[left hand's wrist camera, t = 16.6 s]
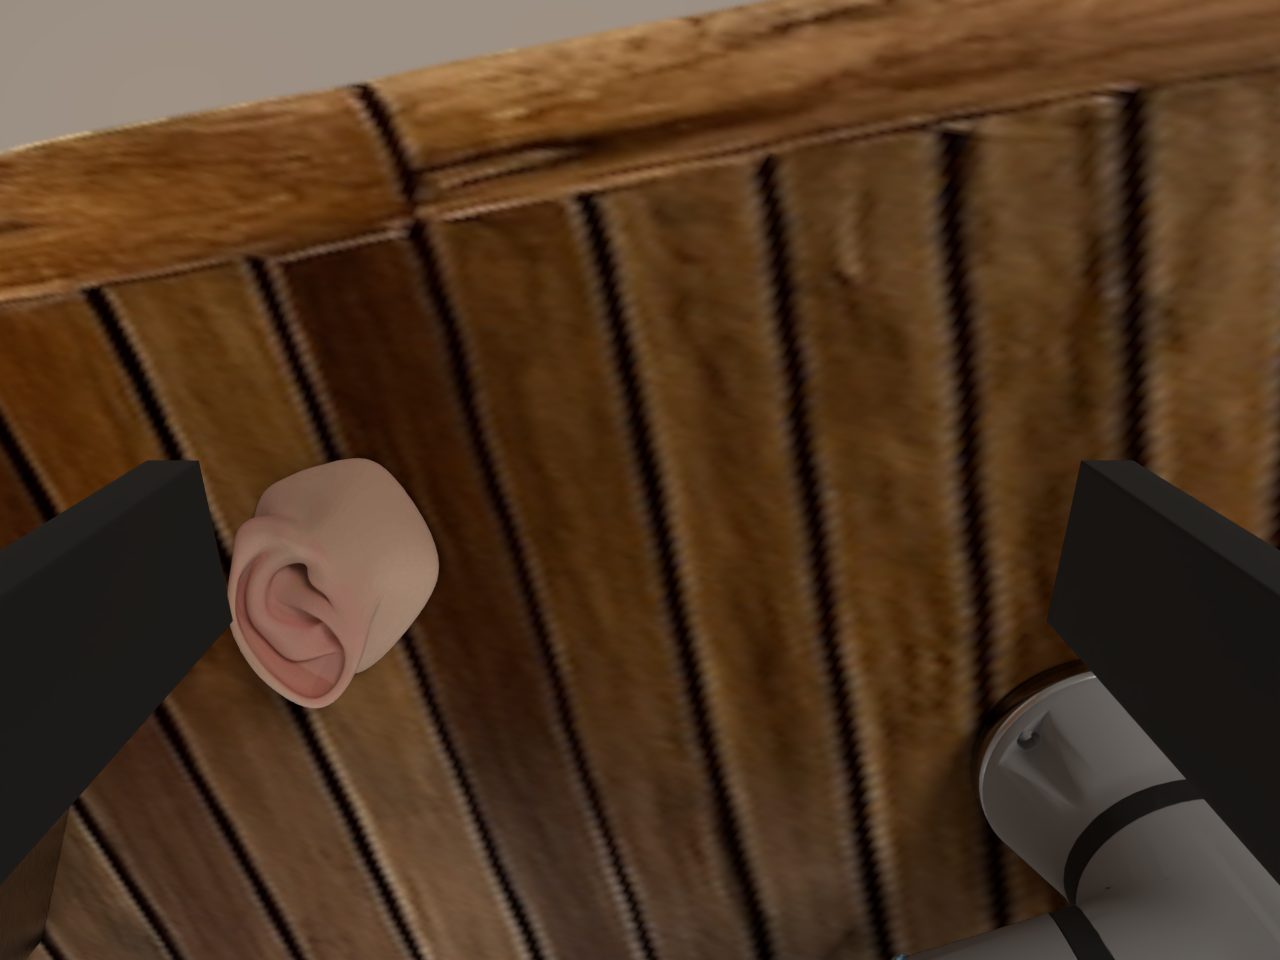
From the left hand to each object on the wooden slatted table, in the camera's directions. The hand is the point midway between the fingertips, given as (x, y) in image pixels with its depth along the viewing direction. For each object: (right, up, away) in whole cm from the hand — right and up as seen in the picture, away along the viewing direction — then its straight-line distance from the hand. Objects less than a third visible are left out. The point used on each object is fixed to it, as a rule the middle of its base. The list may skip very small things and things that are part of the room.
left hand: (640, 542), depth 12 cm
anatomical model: (-17, -4, +34) cm, 39 cm away
